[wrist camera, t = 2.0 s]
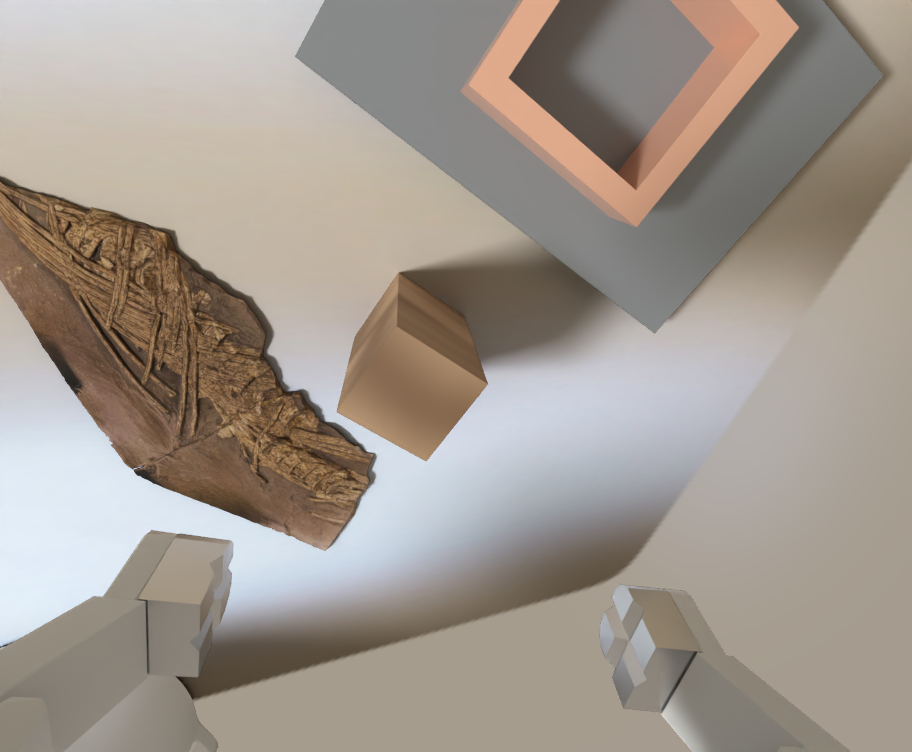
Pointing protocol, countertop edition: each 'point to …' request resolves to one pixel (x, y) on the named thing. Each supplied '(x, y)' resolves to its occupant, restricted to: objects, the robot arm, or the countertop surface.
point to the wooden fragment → (174, 369)
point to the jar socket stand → (605, 117)
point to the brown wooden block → (411, 370)
